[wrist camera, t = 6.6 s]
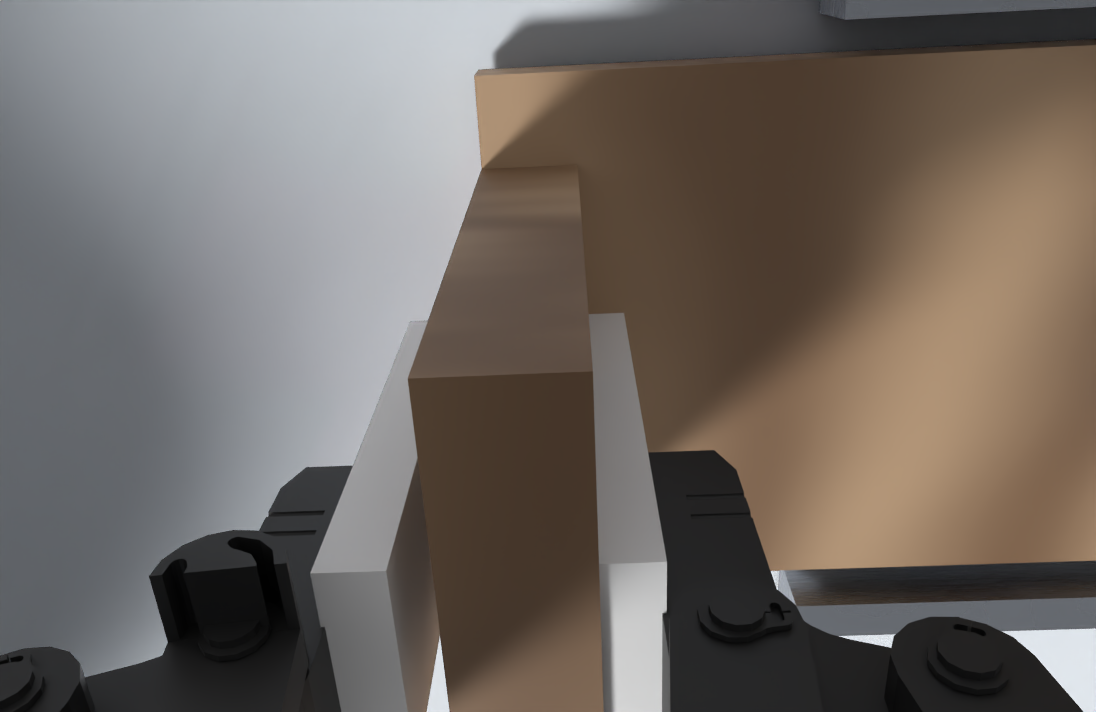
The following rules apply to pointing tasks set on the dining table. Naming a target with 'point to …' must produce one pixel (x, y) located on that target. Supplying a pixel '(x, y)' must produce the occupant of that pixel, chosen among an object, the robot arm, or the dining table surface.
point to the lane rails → (944, 590)
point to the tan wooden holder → (761, 326)
